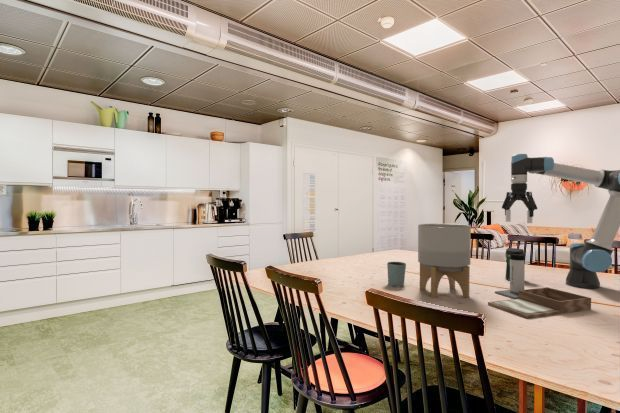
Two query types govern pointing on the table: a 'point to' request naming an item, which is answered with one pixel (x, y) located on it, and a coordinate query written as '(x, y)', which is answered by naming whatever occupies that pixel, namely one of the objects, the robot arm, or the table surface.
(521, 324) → the table surface
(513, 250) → the coffee jar
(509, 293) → the potting mat
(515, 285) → the travel mug
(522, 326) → the table surface
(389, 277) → the blue-grey cup
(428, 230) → the planter
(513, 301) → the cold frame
